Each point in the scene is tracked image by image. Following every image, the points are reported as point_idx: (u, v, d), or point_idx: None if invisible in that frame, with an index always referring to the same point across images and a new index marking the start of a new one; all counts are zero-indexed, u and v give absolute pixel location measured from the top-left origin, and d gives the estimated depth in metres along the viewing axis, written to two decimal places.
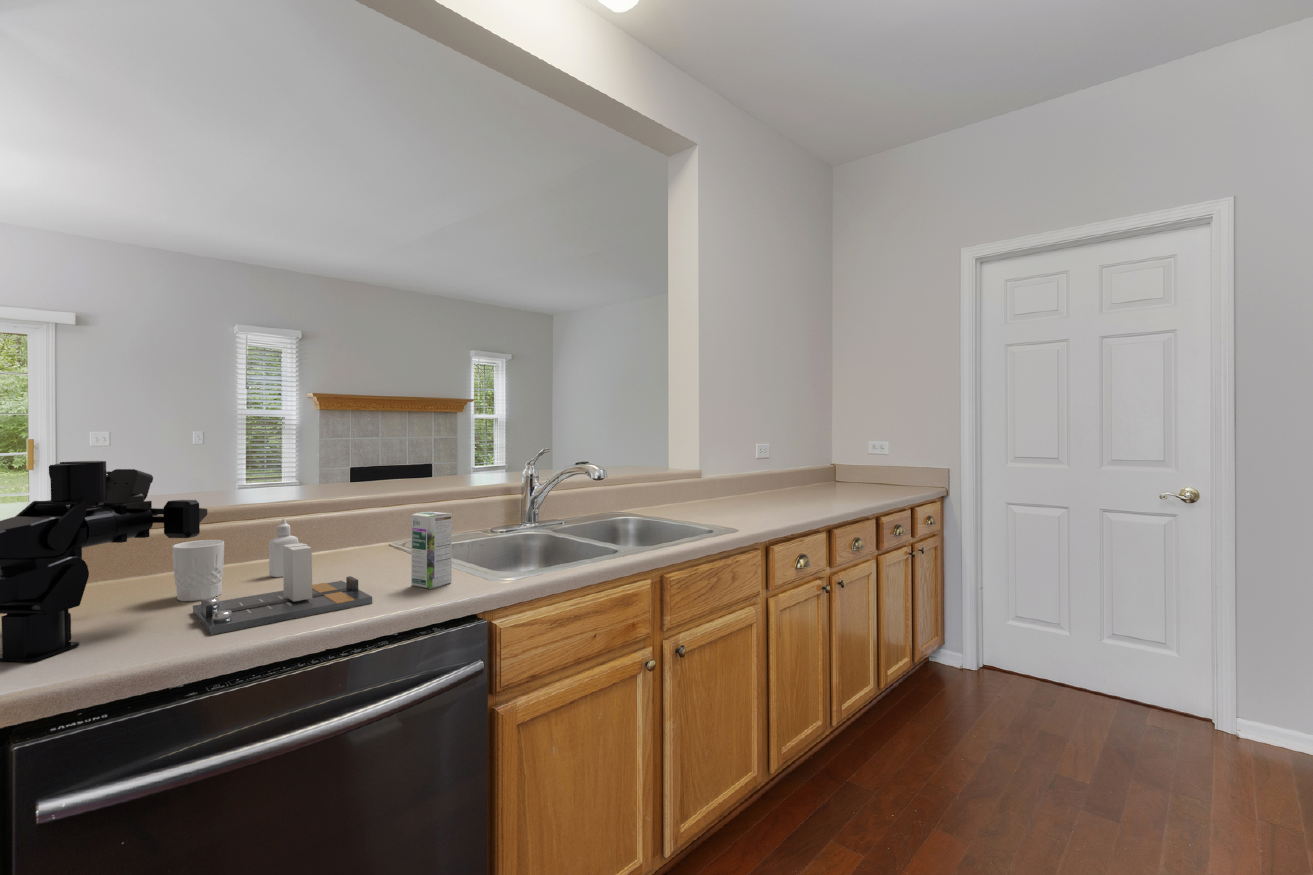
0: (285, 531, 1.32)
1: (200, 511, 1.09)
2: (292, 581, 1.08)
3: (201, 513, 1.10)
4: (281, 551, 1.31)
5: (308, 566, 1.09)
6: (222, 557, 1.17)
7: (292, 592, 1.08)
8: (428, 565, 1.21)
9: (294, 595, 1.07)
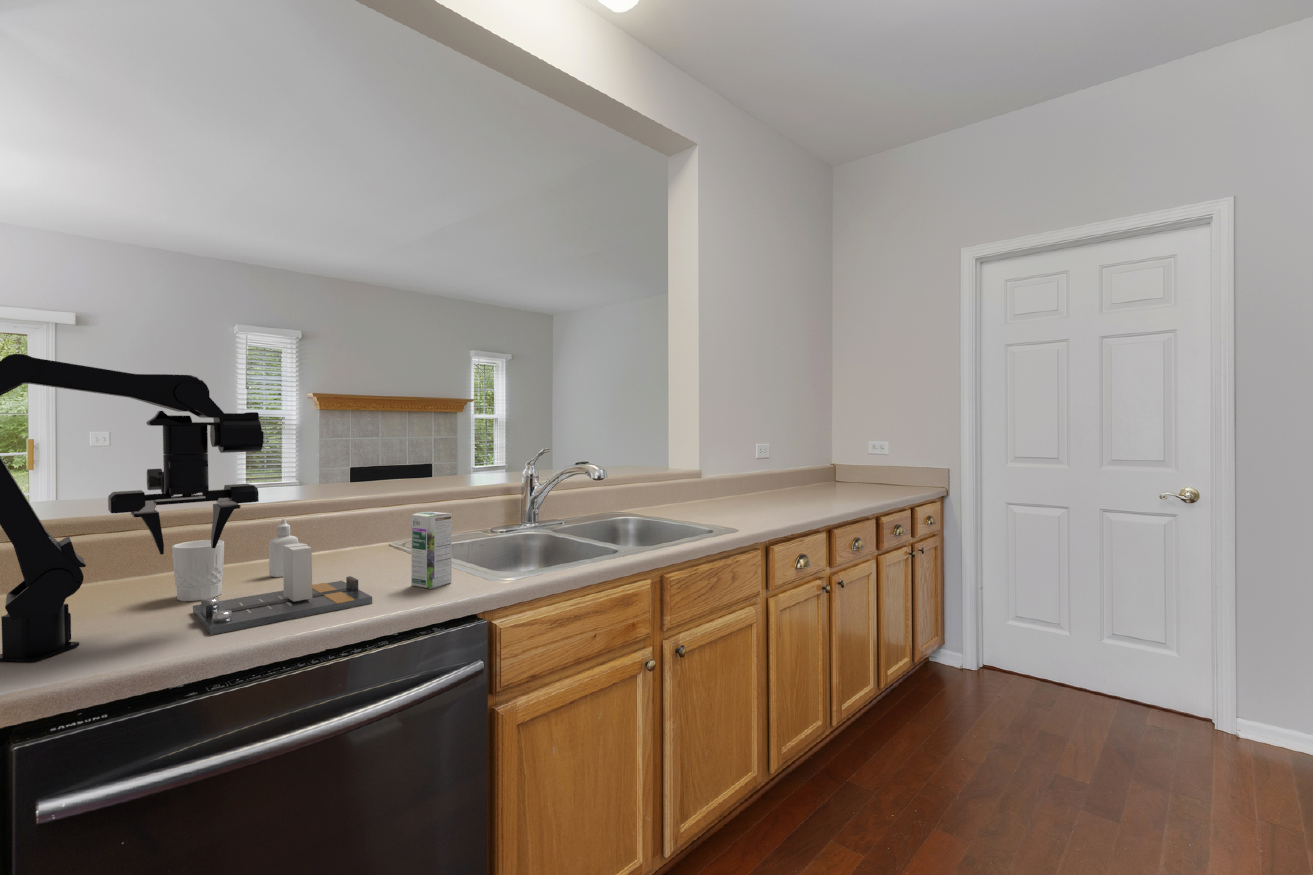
0: (285, 531, 1.32)
1: None
2: (292, 581, 1.08)
3: None
4: (281, 551, 1.31)
5: (308, 566, 1.09)
6: (222, 557, 1.17)
7: (292, 592, 1.08)
8: (428, 565, 1.21)
9: (294, 595, 1.07)
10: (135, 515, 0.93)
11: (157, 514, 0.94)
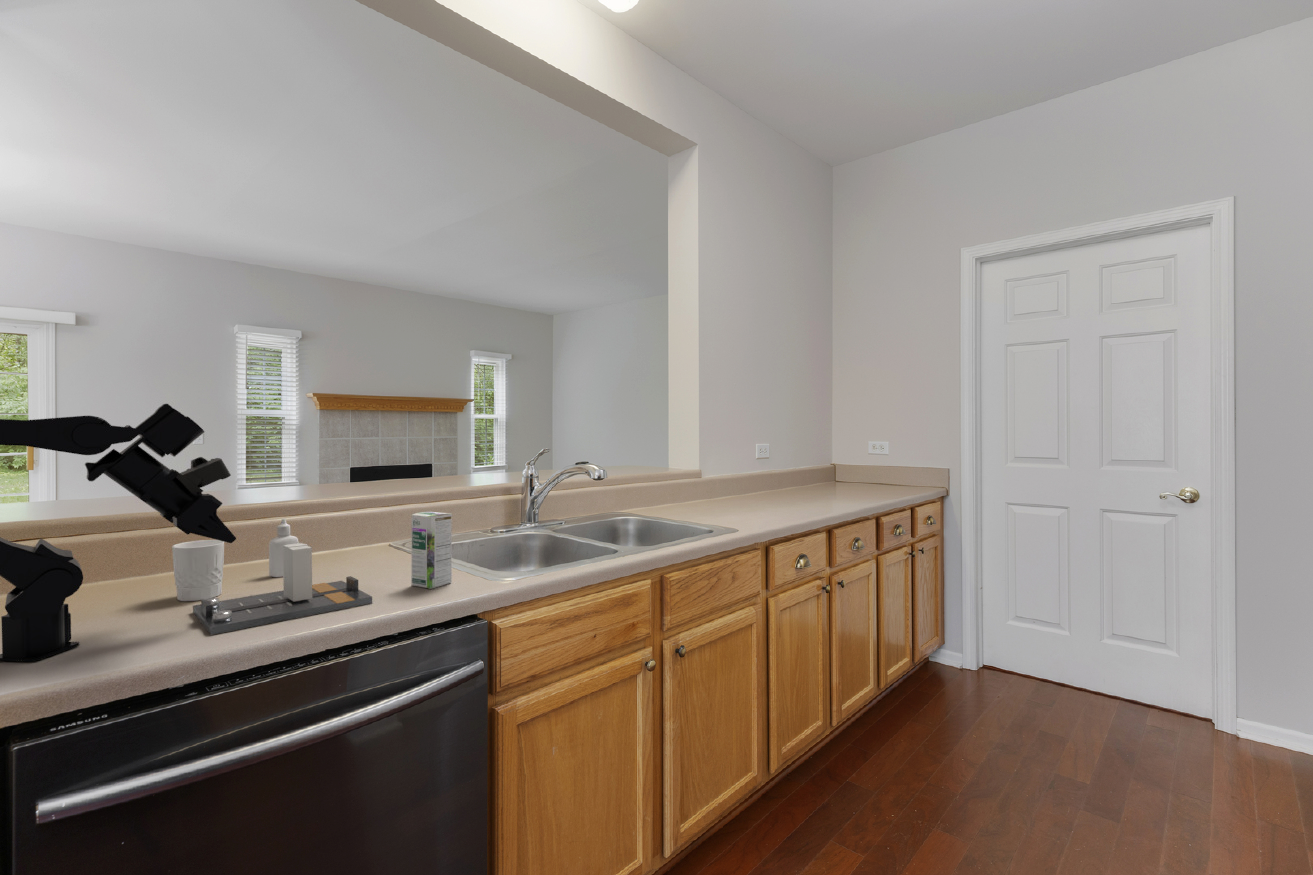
0: (285, 531, 1.32)
1: (224, 530, 1.02)
2: (292, 581, 1.08)
3: (223, 533, 1.02)
4: (281, 551, 1.31)
5: (308, 566, 1.09)
6: (222, 557, 1.17)
7: (292, 592, 1.08)
8: (428, 565, 1.21)
9: (294, 595, 1.07)
10: None
11: None
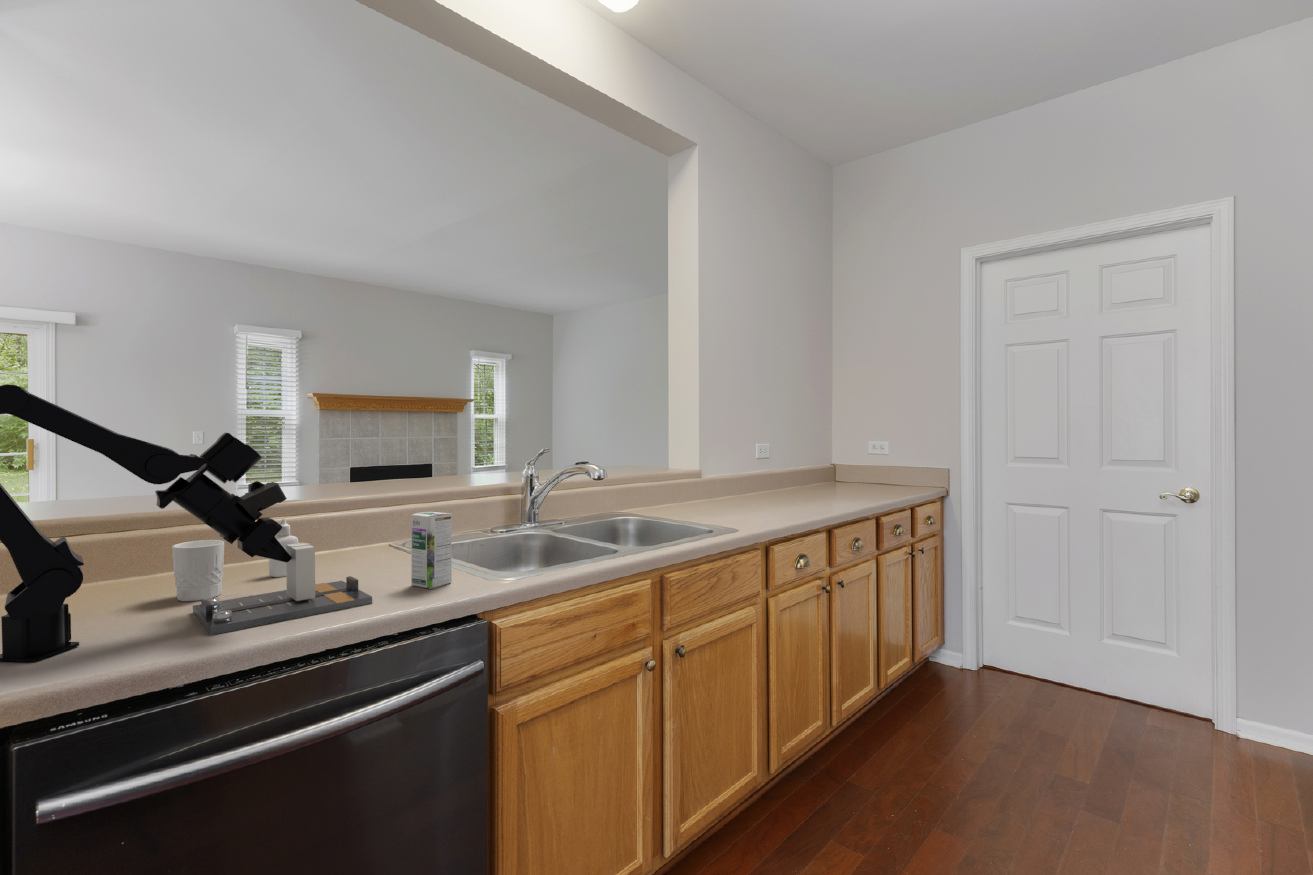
0: (285, 530, 1.32)
1: (281, 550, 1.08)
2: (295, 581, 1.08)
3: (280, 553, 1.08)
4: None
5: (311, 566, 1.09)
6: (222, 557, 1.17)
7: (295, 591, 1.08)
8: (428, 565, 1.21)
9: (297, 594, 1.08)
10: None
11: None
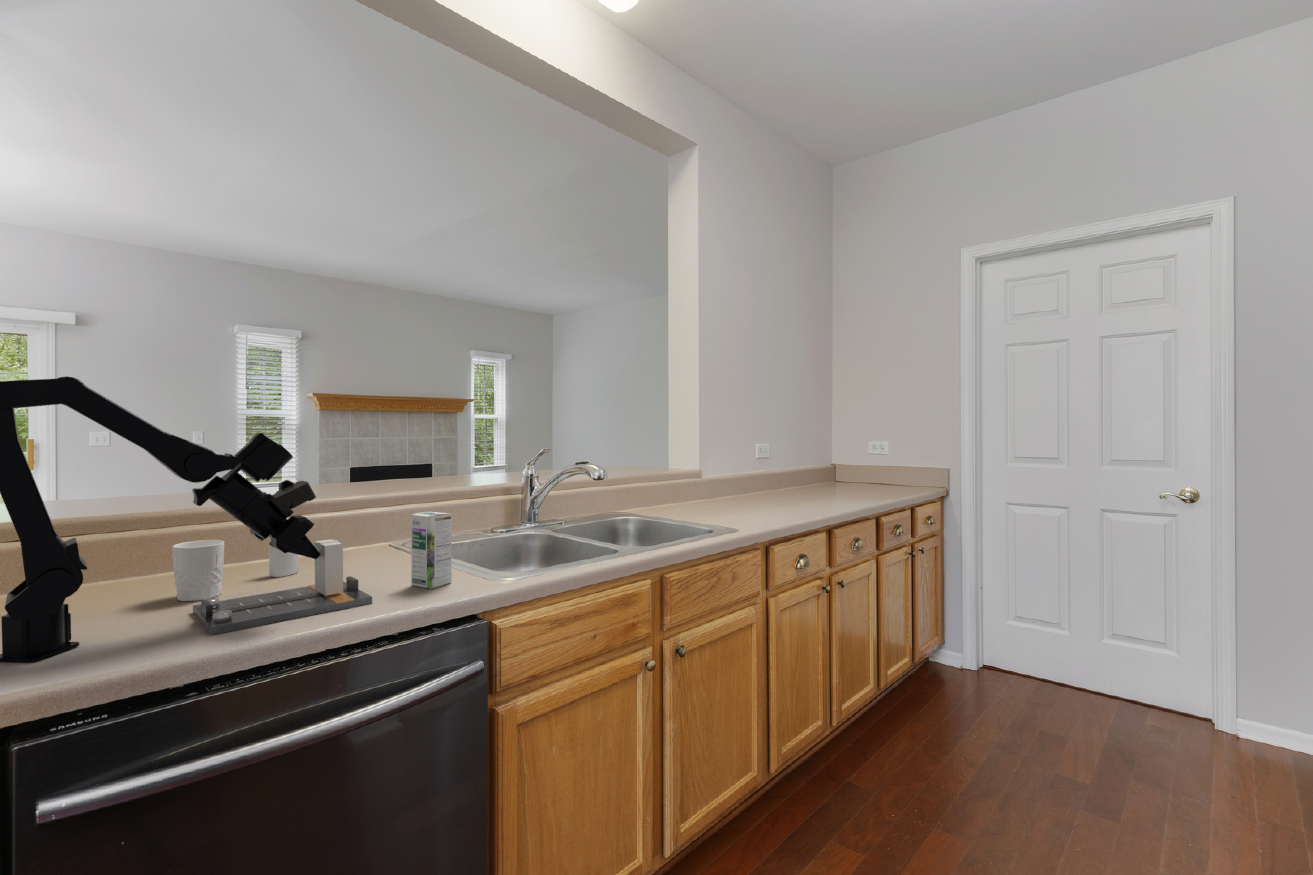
0: None
1: (310, 547, 1.11)
2: (324, 576, 1.11)
3: (310, 550, 1.11)
4: (281, 551, 1.31)
5: (339, 561, 1.13)
6: (222, 557, 1.17)
7: (324, 586, 1.11)
8: (428, 565, 1.21)
9: (326, 589, 1.11)
10: None
11: None
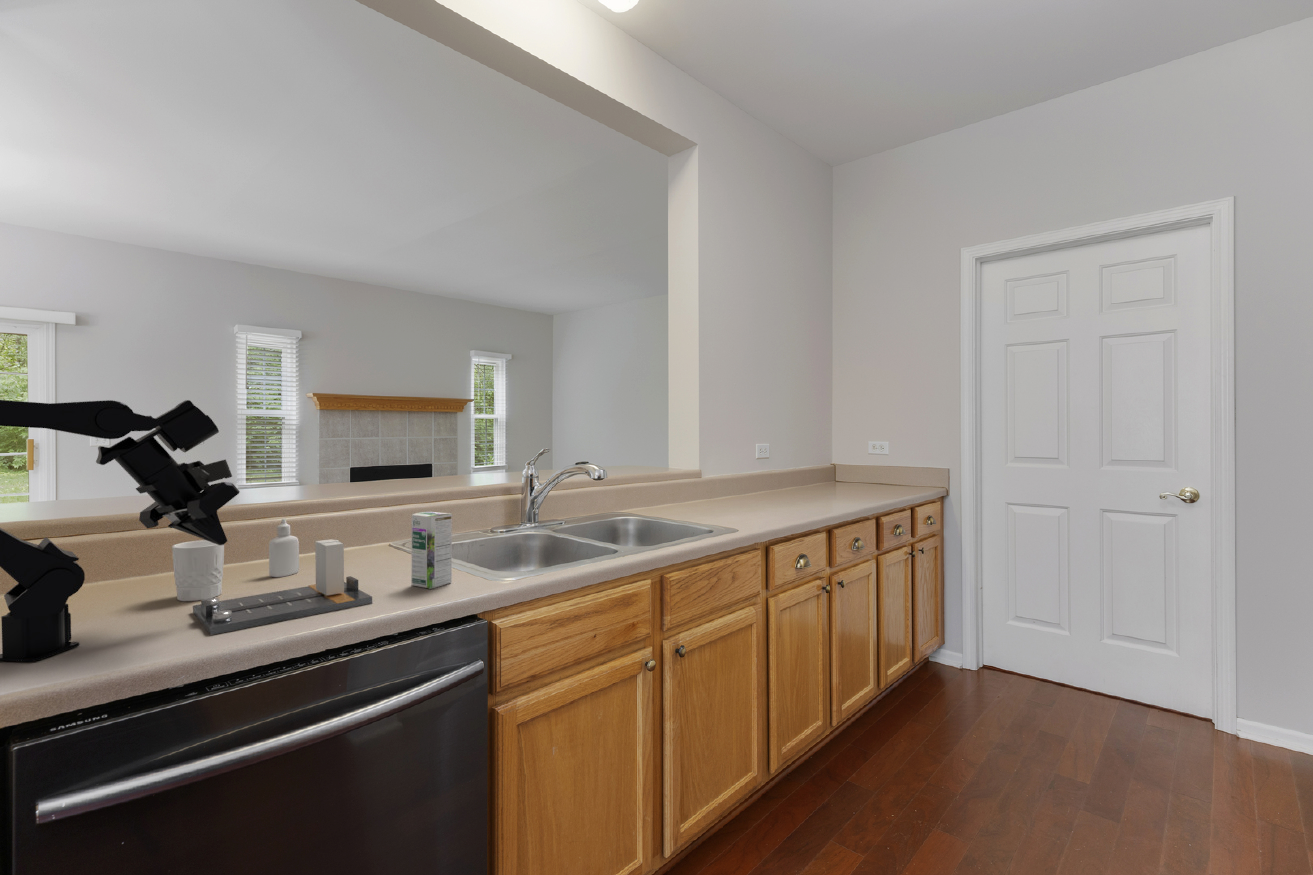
0: (285, 531, 1.32)
1: (219, 530, 1.03)
2: (325, 576, 1.11)
3: (218, 533, 1.03)
4: (281, 551, 1.31)
5: (340, 561, 1.13)
6: (222, 557, 1.17)
7: (325, 586, 1.12)
8: (428, 565, 1.21)
9: (327, 589, 1.11)
10: (169, 526, 1.00)
11: (177, 526, 0.99)
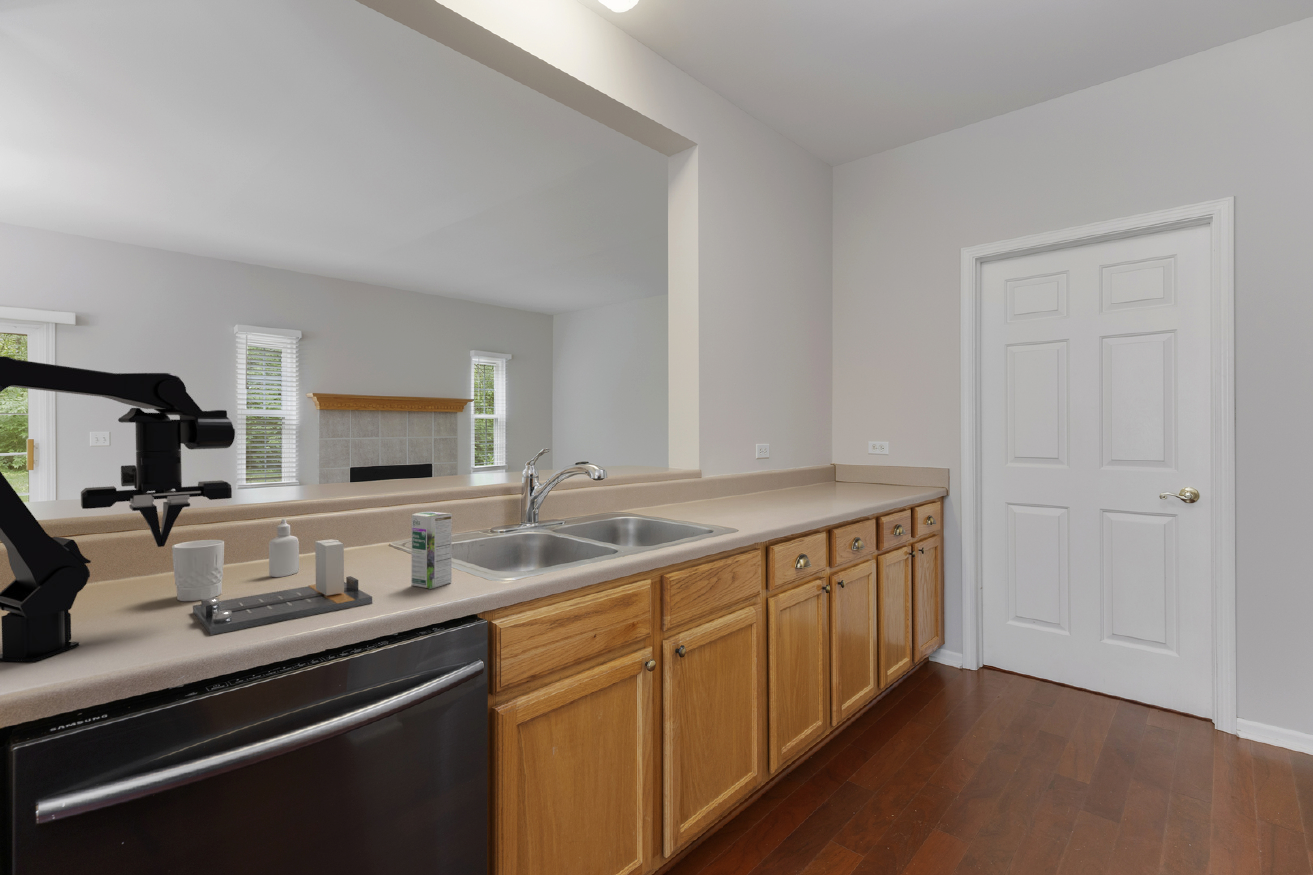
0: (285, 531, 1.32)
1: None
2: (325, 576, 1.11)
3: None
4: (281, 551, 1.31)
5: (340, 561, 1.13)
6: (222, 557, 1.17)
7: (325, 586, 1.12)
8: (428, 565, 1.21)
9: (327, 589, 1.11)
10: (133, 509, 0.96)
11: (155, 508, 0.98)
